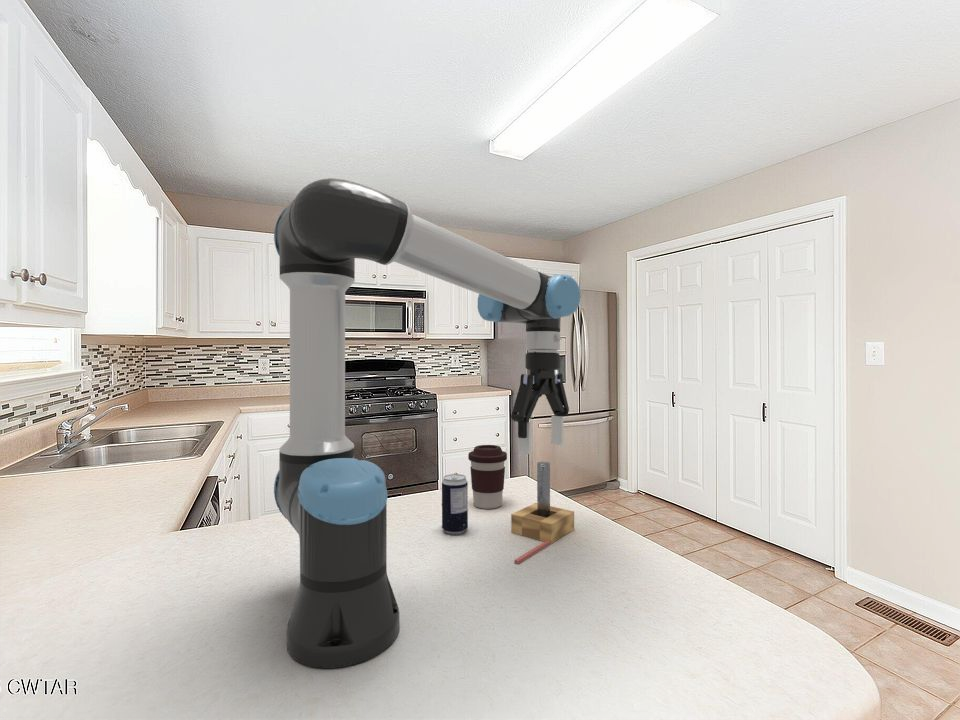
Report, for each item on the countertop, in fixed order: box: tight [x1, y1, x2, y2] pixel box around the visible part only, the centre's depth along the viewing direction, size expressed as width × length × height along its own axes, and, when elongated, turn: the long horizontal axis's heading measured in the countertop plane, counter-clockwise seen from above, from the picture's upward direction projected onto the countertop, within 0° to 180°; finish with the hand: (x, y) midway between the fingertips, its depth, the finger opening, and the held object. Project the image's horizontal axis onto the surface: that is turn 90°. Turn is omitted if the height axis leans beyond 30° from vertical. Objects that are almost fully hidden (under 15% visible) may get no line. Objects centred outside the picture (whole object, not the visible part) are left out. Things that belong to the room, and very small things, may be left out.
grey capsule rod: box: [536, 461, 551, 518], centre depth 104 cm, size 3×3×15 cm
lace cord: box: [514, 540, 552, 565], centre depth 93 cm, size 12×1×1 cm, turn 141°
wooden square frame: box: [510, 502, 575, 545], centre depth 104 cm, size 10×10×4 cm
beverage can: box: [441, 473, 469, 536], centre depth 104 cm, size 6×6×12 cm
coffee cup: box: [467, 444, 508, 510], centre depth 122 cm, size 10×10×15 cm
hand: (541, 448), depth 104 cm, fingers open, 13 cm apart
